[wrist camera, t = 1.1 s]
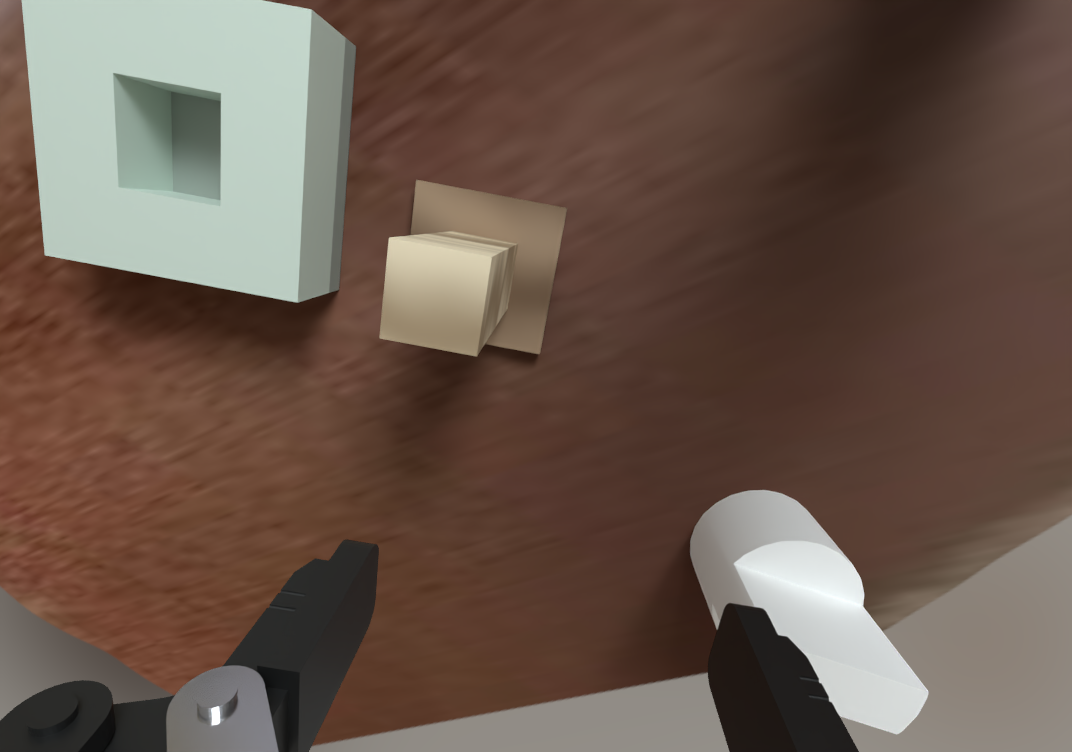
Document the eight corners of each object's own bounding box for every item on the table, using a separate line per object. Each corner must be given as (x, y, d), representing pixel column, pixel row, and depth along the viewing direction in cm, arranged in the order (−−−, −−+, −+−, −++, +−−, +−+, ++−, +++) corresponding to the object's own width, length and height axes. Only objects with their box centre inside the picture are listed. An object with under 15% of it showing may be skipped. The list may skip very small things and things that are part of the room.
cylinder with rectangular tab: (670, 576, 39) (714, 726, 27) (721, 473, 36) (794, 590, 25) (782, 613, 39) (872, 776, 28) (841, 513, 37) (967, 647, 25)
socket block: (113, 0, 30) (17, -47, 25) (355, 46, 30) (311, 9, 25) (125, 249, 34) (44, 255, 29) (339, 289, 34) (297, 302, 29)
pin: (452, 231, 32) (389, 237, 20) (518, 243, 32) (492, 256, 20) (444, 296, 33) (379, 338, 21) (507, 308, 33) (476, 356, 21)
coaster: (420, 180, 32) (416, 179, 31) (567, 208, 32) (567, 208, 31) (405, 325, 34) (400, 328, 34) (540, 350, 34) (539, 354, 34)
